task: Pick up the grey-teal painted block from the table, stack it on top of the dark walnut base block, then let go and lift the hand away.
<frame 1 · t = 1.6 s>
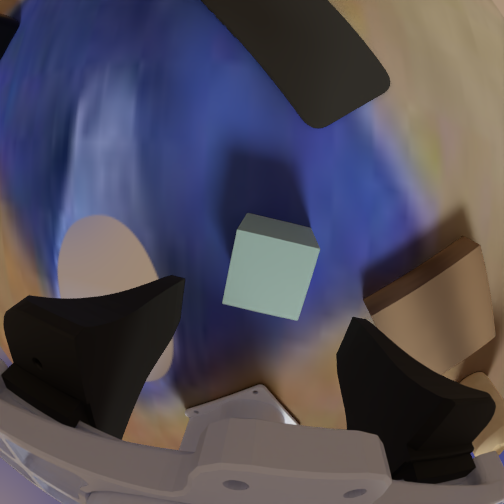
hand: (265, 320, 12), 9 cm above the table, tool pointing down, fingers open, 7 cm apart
candle: (467, 388, 24), on the table
wine bottle: (3, 39, 16), on the table
walnut base: (430, 311, 22), on the table
painted block: (271, 250, 21), on the table
phone: (291, 29, 16), on the table
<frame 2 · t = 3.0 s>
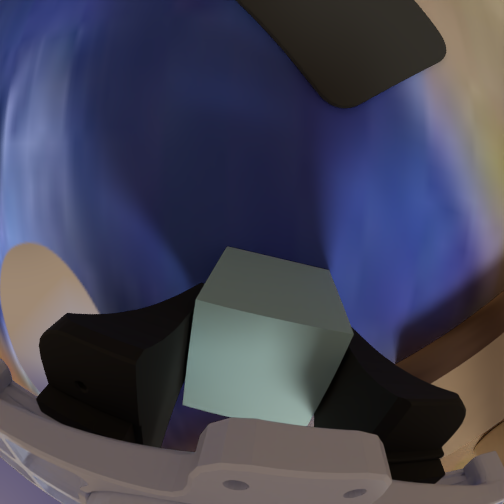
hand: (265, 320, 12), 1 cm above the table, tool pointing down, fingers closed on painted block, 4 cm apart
candle: (494, 435, 16), on the table
walnut base: (474, 366, 14), on the table
painted block: (266, 304, 13), on the table, touching gripper
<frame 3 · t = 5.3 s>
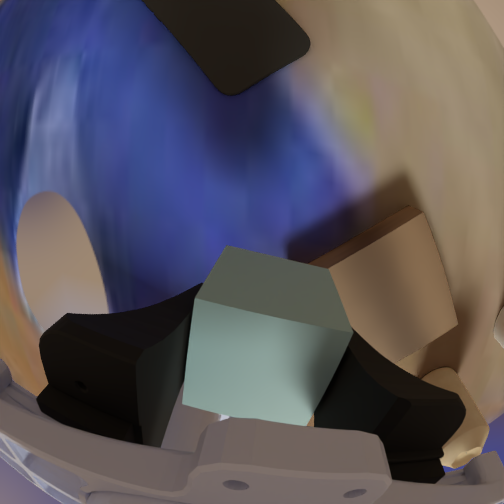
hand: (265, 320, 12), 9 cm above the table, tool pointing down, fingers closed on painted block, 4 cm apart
candle: (433, 385, 23), on the table
walnut base: (375, 292, 21), on the table
painted block: (266, 303, 13), point 8 cm above the table, touching gripper
phone: (213, 8, 16), on the table
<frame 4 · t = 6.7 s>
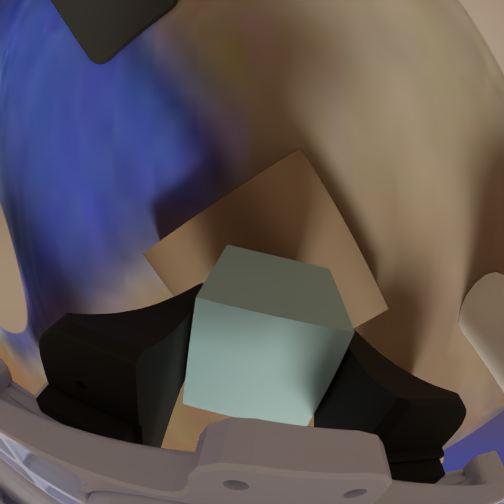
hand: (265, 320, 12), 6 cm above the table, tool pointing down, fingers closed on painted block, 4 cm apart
drinking glass: (484, 304, 17), on the table
walnut base: (270, 264, 18), on the table
painted block: (266, 302, 13), point 5 cm above the table, touching gripper
when the fingers open (5 cm above the table, at t = 7.4 s): painted block drops 1 cm, resting on walnut base.
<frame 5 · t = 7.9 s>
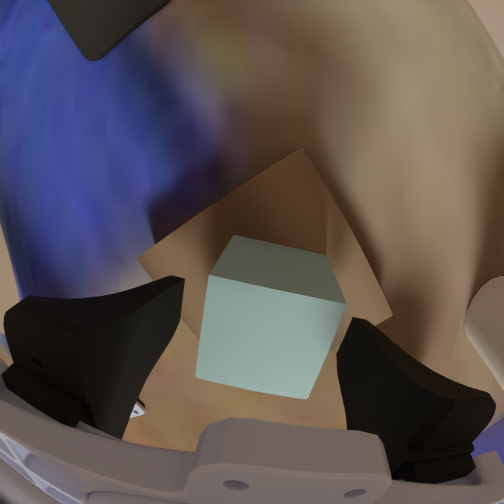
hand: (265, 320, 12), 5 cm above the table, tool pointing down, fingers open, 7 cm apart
drinking glass: (490, 309, 17), on the table
walnut base: (270, 268, 17), on the table, touching painted block
painted block: (270, 287, 15), point 2 cm above the table, touching walnut base
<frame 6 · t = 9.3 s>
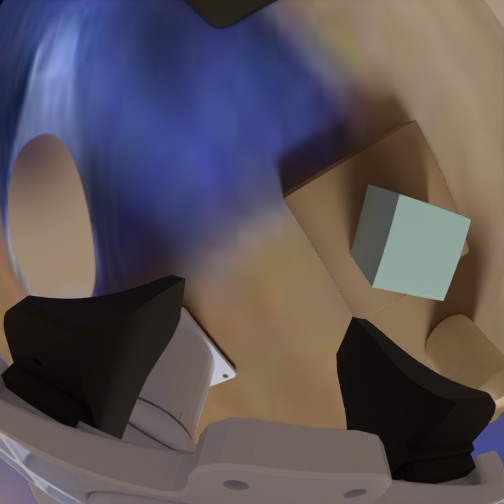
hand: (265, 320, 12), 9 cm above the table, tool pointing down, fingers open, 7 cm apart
candle: (448, 337, 22), on the table
walnut base: (377, 217, 20), on the table, touching painted block
painted block: (391, 228, 17), point 2 cm above the table, touching walnut base
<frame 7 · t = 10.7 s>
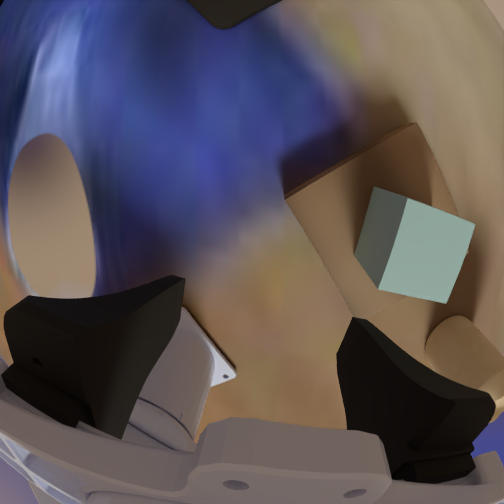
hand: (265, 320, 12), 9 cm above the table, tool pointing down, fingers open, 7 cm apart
candle: (447, 338, 22), on the table
walnut base: (377, 218, 20), on the table, touching painted block
painted block: (395, 230, 17), point 2 cm above the table, touching walnut base
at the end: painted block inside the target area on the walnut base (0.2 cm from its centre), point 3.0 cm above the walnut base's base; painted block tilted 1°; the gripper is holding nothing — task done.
